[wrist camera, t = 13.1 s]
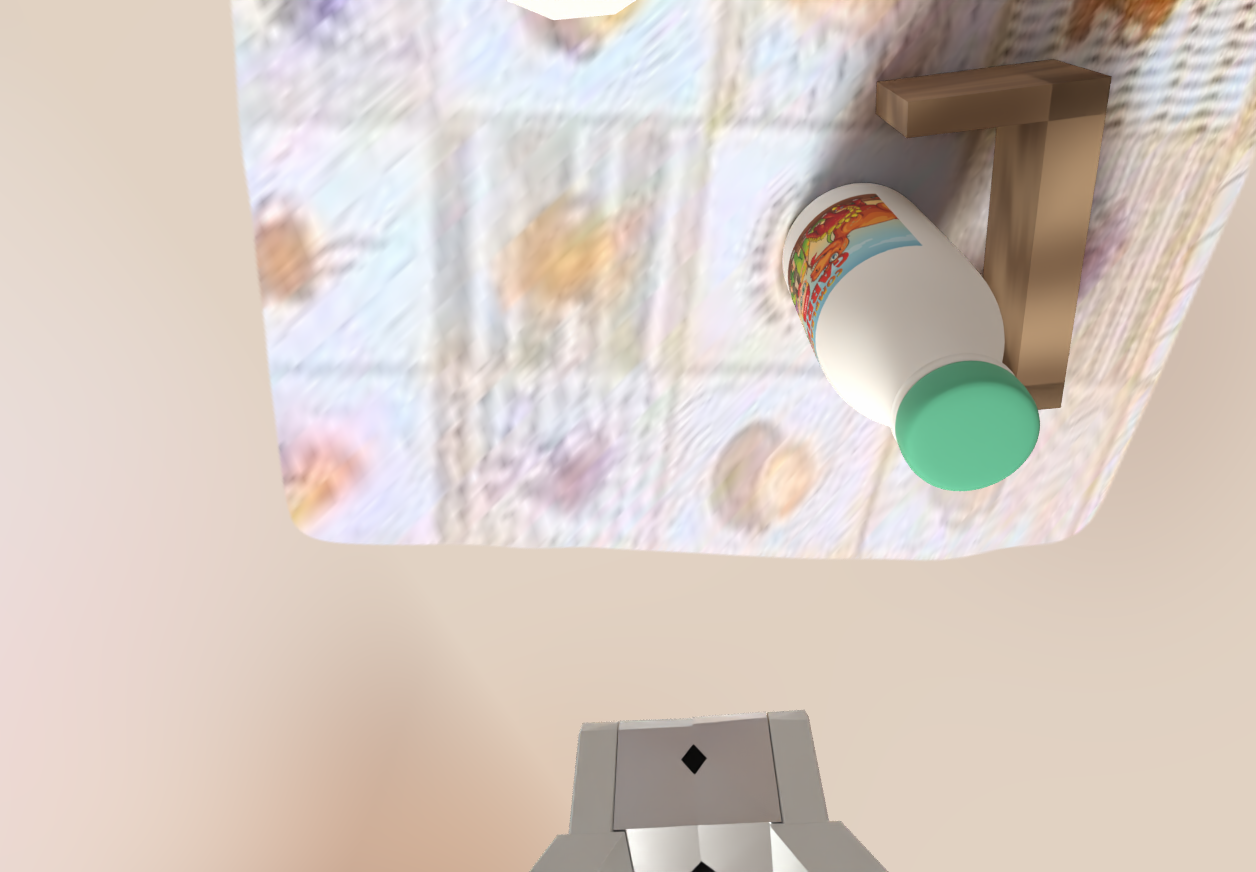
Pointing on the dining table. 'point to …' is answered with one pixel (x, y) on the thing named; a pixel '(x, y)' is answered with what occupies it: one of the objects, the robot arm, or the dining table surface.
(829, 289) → the milk bottle
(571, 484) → the dining table surface
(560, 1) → the foam cup
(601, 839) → the robot arm
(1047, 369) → the walnut dock
